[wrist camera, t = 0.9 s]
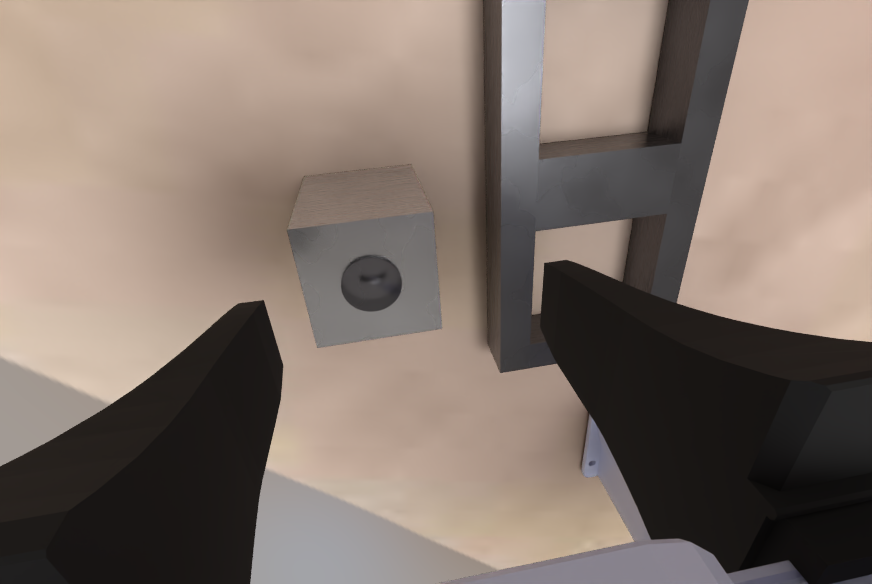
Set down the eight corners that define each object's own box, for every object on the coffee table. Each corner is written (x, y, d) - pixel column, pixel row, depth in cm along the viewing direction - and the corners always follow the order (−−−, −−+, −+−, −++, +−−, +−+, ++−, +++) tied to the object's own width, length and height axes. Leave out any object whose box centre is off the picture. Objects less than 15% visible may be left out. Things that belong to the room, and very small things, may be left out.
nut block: (420, 258, 21) (442, 331, 16) (325, 271, 21) (316, 350, 16) (410, 163, 19) (434, 213, 14) (304, 176, 19) (286, 231, 13)
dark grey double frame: (641, 320, 26) (666, 345, 24) (487, 344, 25) (500, 372, 23) (720, -85, 17) (773, -102, 14) (482, -71, 16) (502, -87, 14)
